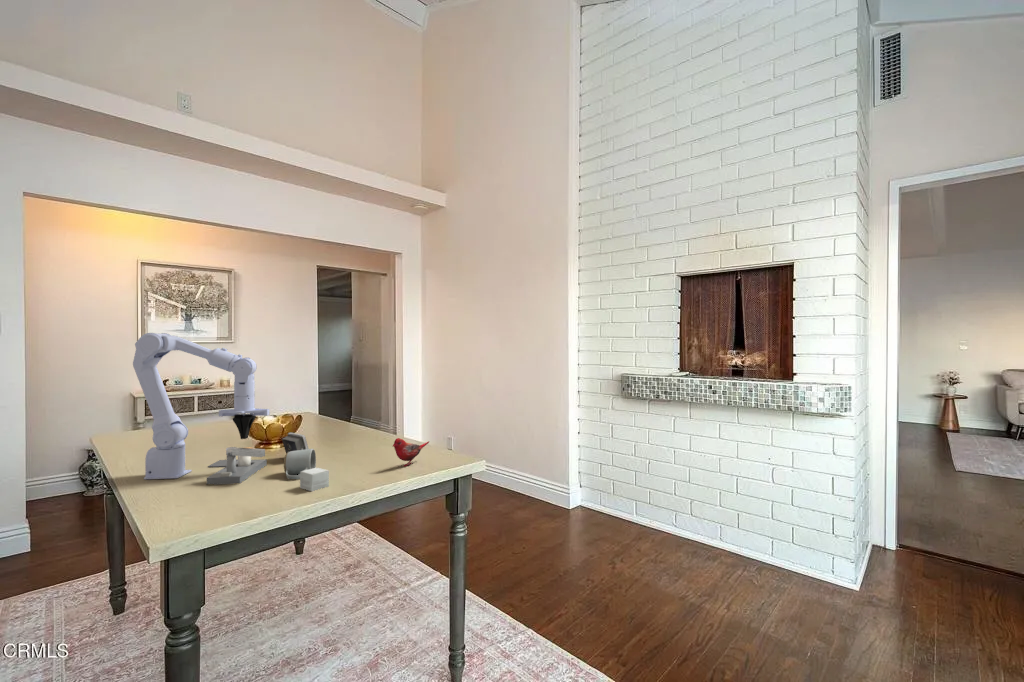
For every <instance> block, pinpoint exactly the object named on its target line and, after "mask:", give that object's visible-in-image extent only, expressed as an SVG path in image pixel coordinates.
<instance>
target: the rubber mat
mask: <svg viewBox="0 0 1024 682" xmlns="http://www.w3.org/2000/svg"><path fill="white" fill-rule="evenodd" d="M237 460H238V459H236V461H237ZM225 467H227V459H218V460H217V461H214V462H213V463H212V464H210V465H207V468H225Z"/></svg>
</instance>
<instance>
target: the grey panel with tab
mask: <svg viewBox="0 0 1024 682" xmlns="http://www.w3.org/2000/svg"><path fill="white" fill-rule="evenodd" d="M226 460H227V467H222V468H221V469H220V470H218V471H217V472H214V473H213V474H211V475H208V476H207V477H206V485H207V484H214V485H233V484H234V483H240V484H242V483H243V482H244V481H246V480H248V479H249V478H250V477H252V476H253V475H254V473H255V472H256V473H257V471H258V470H259V471H260V470H262V469H264V468H265V467H267V465H268V464H267V459H251V465H250V466H243V467H238V459H237V456H235V455H231V456H227V455H226ZM236 460H237V461H236ZM264 466H265V467H264ZM261 468H262V469H261ZM259 471H258V472H259ZM256 473H255V474H256ZM252 474H253V475H252ZM251 475H252V476H251ZM249 476H250V477H249ZM248 477H249V478H248ZM245 479H246V480H245ZM242 481H243V482H242ZM234 485H235V484H234Z"/></svg>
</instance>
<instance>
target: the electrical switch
mask: <svg viewBox="0 0 1024 682" xmlns="http://www.w3.org/2000/svg"><path fill="white" fill-rule="evenodd" d="M281 441H282V444H283V448H284V451H285V455H286V454H287V453H288V452H290V451H296V450H305V449H310V448H309V445H308V442H307V438H306V435H304V434H301V433H295V432H288V433H287V435H286V436H285V437H283V438H281Z"/></svg>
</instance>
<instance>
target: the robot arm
mask: <svg viewBox="0 0 1024 682" xmlns="http://www.w3.org/2000/svg"><path fill="white" fill-rule="evenodd" d="M134 346H135V352H134V357H133V359H132V360H133V361H132V367H133V369H134V372H135V374H136V377H137V380H138V381H139V385H140V387H141V389H142V393H143V395H144V398H145V400H146V402H147V406H148V407H149V410H150V413H151V415H152V419H153V421H152V425H151V430H152V433H153V435H152V443H154V445H155V446H153V447H150V448H149V449H148V450H147V452H146V455H145V462H144V463H145V472H144V473H145V476H144V477H143V480H163V479H164V480H165V479H167V480H168V479H170V480H171V479H179V478H181V477H183V476H184V475H187V474H189V473H191V472H192V469H186V442H185V439H187V437H188V435H189V429H188V427H187V426H186V424H184V423H183V422H182V420H181V418H180V416H179V415H177V414H176V413H175V411H174V408H173V405H172V404H171V401H170V399H169V396H168V393H167V391H166V387H165V385H164V382H163V380H162V377H161V375H160V371H159V369H158V367H157V365H158V364H159V362H160V361H161V359H162V358H163V357H165V356H166V355H167V354H169V353H170V352H172V351H180V352H183V353H187V354H190V355H193V356H197V357H199V358H202V359H204V360H205V359H206V360H207V362H208V364H209V366H213V367H215V368H218V369H221V370H224V371H227V372H229V373H232V374H233V375H234V383H233V386H234V387H233V392H234V394H233V400H234V401H233V408H232V409H231V408H228V409H227V408H226V409H219V410H218V417H233V418H232V421H233V423H234V424H235V426H236V428H237V430H238V433H239V437H240V440H246V439H249V436H250V435H249V434H250V430H251V428H252V425H253V424H254V421H255V419H256V417H257V416H260V417H262V416H264V417H266V416H267V417H268V416H270V411H271V410H270V408H255V405H256V404H255V399H256V398H255V397H256V391H255V388H256V381H255V372H256V371H257V363H256V361H255V360H254V359H251V358H250V357H243V354H240V353H239V354H236V353H233V352H230V351H228V349H227V348H225V347H222V348H220V347H217V348H214V349H211V348H208V347H206V346H203V345H201V344H198V343H196V342H193V341H191V340H189V339H186V338H183V337H180V336H178V335H172V334H169V333H168V332H167V333H165V332H161V333H156V332H147V333H144V334H142V335H141V336H140V337H139V338H138V339H137V341H136V342H135V343H134Z"/></svg>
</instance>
